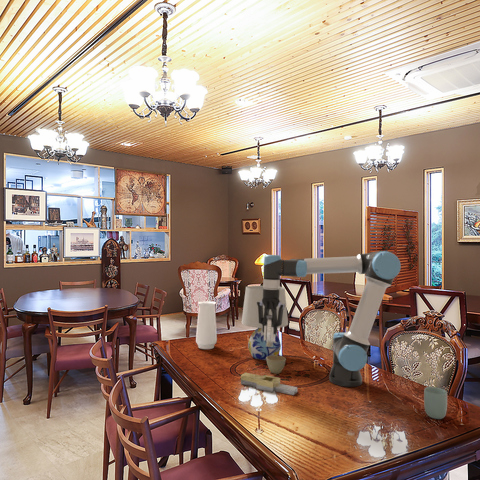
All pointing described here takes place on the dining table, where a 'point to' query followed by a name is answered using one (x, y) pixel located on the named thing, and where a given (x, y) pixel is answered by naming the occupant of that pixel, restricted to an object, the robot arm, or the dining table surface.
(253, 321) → the table lamp
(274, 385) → the bar with brass collar
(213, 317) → the vase
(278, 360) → the flower pot
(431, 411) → the cup
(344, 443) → the dining table surface
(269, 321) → the pin
